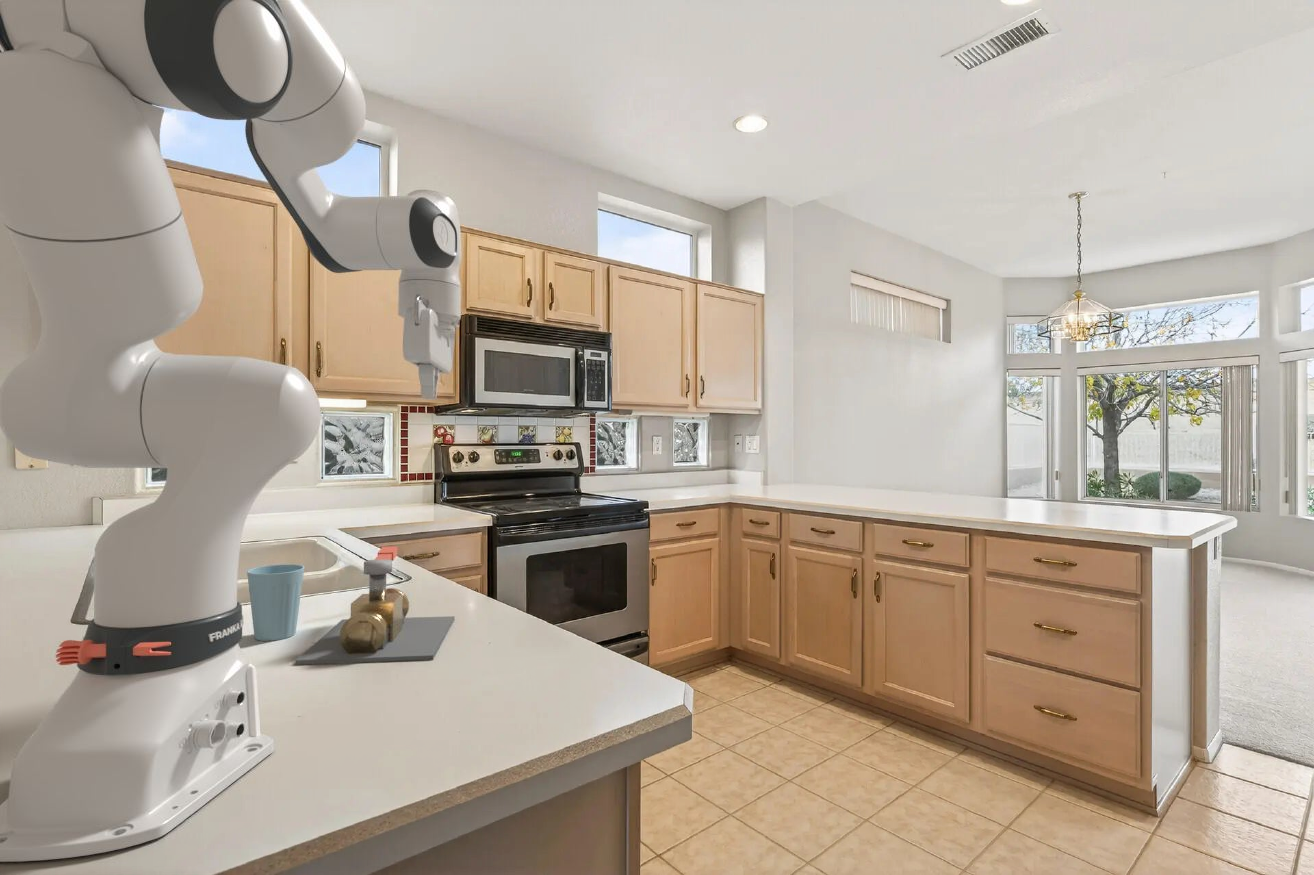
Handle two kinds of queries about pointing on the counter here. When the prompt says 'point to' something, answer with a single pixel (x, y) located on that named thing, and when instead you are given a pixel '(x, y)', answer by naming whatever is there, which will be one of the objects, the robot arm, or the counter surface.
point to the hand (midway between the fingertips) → (428, 398)
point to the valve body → (374, 618)
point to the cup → (275, 600)
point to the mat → (410, 644)
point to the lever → (381, 562)
